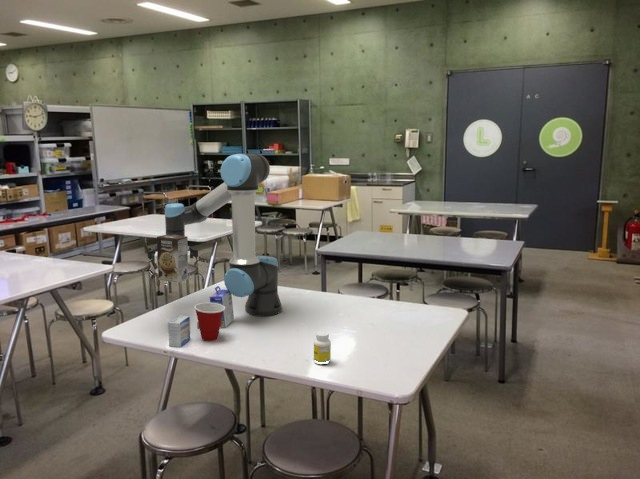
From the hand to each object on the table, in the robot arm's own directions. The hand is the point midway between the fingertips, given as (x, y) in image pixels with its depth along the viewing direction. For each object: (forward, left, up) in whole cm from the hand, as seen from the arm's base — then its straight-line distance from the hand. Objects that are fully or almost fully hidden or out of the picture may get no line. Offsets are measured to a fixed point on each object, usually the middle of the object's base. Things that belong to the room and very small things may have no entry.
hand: (172, 258), depth 186 cm
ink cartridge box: (-18, -8, -28) cm, 34 cm away
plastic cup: (-12, +6, -28) cm, 32 cm away
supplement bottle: (-47, +34, -28) cm, 64 cm away
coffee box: (0, -4, -9) cm, 10 cm away
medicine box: (-2, +9, -28) cm, 30 cm away
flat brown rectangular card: (-10, -7, -28) cm, 31 cm away
